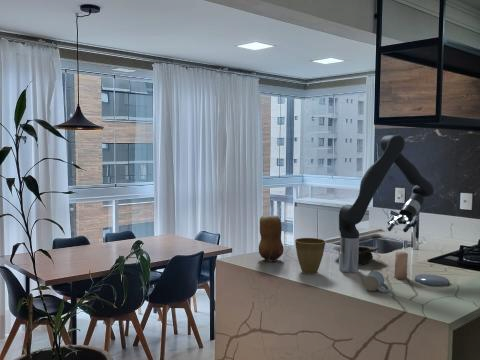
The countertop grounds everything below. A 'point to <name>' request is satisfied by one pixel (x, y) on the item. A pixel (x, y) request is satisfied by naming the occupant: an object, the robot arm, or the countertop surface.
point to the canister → (401, 265)
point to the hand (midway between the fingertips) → (396, 230)
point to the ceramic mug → (375, 282)
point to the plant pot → (309, 254)
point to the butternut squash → (270, 238)
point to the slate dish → (431, 280)
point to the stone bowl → (363, 254)
